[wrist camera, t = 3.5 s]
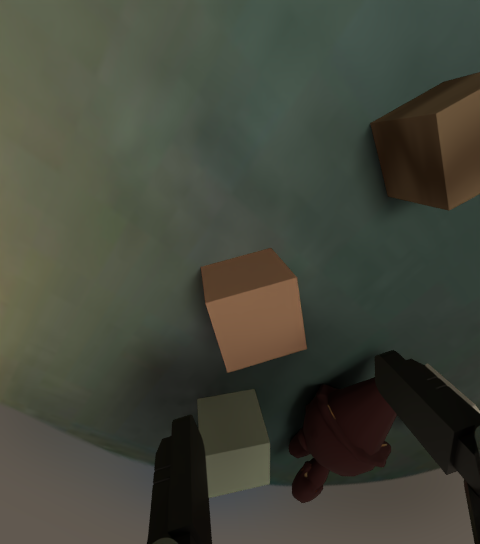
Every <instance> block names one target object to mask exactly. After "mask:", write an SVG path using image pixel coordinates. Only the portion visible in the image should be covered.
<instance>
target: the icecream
mask: <svg viewBox="0 0 480 544" xmlns="http://www.w3.org/2000/svg"><path fill="white" fill-rule="evenodd" d="M305 412H306V414H305V418H304V424H303V428H301V429H300V431H299V432H298V433H297V434H296V435H295V436H294V437H293V439H292V440H291V441H290V444H289V452H290V454H291V455H293V456H295V457H296V458H300V457H304V456H307V455H309V454H310V453H311V454H312V456H313V457H314V458H313V459H311V460H310V461H307V462H305V464H304V466H303V467H302V468H301V469H300V470H299V472H298V473H297V475H296V477H295V479H294V481H293V483H292V494H293V496H294V498H296V499H297V500H298V501H300V502H301V503H305V502H308V501H311V500H313V499H314V498H316V497H317V496H318V495H319V494H320V493H321V491H322V489H323V484H324V483H325V481H326V479H327V476H328V473H329V471H332V472H334V473H336V474H339V475H341V476H356V475H359V474H362V473H364V472H367V471H370V470H373V468H374V467H375V466H378V467H384V466H385V464H386V459H387V457H388V456H389V454H390V452H391V446H390V445H389V444H388V443H387V442H386V441H384V440H385V438H386V436H387V434H388V432H389V430H390V428H391V426H392V424H393V422H394V420H395V418H396V416H397V414H396V413H395V411H394V410H393V409H392V408H391V406H390V405H389V404H388V403H387V402H386V400H385V399H384V398H383V397H382V395H381V394H380V392H379V391H378V389H377V386H376V383H375V377H374V378H371V379H368V380H366V381H363V382H360V383H357V384H354V385H351V386H348V387H346V388H343V389H336V388H333V387H331V386H329V385H325V384H322V385H321V386H320V388H319V390H318V392H317V393H316V396H315V397H314V398H313V400H312V401H311V402H310V403H309V404H308V405H306V408H305Z"/></svg>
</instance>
